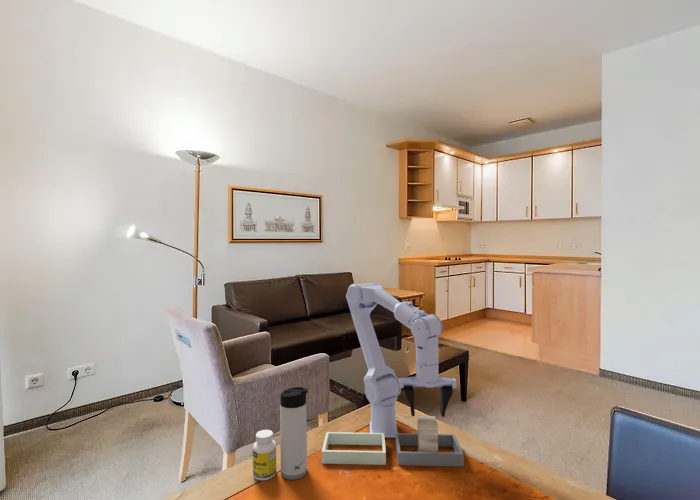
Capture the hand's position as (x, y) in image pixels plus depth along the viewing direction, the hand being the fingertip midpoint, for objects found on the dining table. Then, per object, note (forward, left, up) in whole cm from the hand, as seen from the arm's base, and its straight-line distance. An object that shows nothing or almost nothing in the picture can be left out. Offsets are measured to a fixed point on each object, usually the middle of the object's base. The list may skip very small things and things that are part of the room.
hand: (427, 414), depth 96 cm
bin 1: (0, -19, -10) cm, 22 cm away
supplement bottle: (+10, -40, -11) cm, 43 cm away
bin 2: (0, 0, -10) cm, 10 cm away
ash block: (0, 0, -10) cm, 10 cm away
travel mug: (+9, -33, -11) cm, 36 cm away
